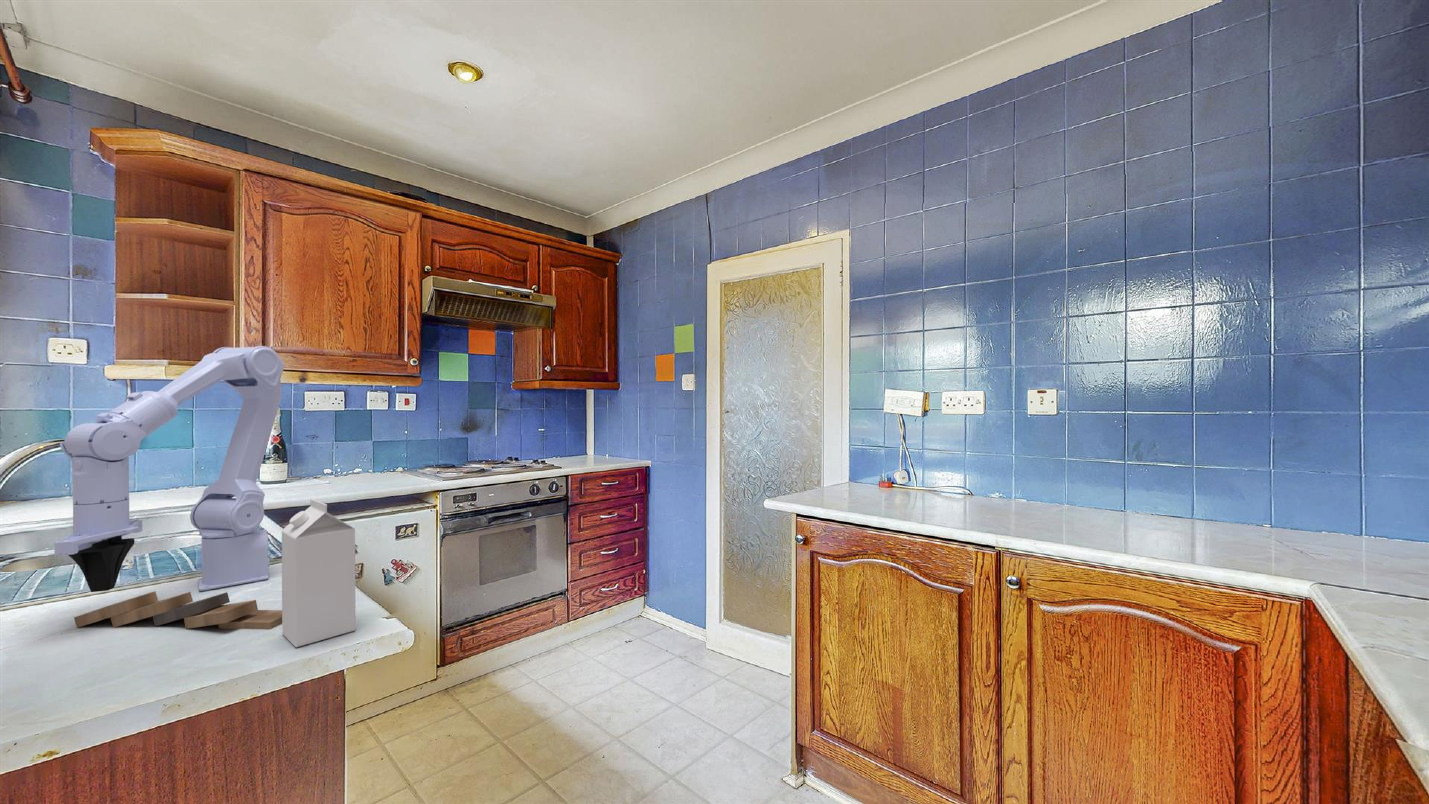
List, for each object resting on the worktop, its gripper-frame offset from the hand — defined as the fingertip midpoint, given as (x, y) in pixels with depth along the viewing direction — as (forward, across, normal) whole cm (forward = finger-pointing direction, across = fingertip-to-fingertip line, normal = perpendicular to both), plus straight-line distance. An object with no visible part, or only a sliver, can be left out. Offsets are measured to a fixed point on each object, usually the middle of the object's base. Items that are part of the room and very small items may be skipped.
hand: (102, 589), depth 83 cm
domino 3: (+4, -6, -15) cm, 17 cm away
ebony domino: (+4, -3, -10) cm, 11 cm away
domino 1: (+4, 0, +1) cm, 4 cm away
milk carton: (+5, -16, -33) cm, 37 cm away
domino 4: (+4, -7, -19) cm, 21 cm away
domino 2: (+4, -2, -4) cm, 6 cm away
